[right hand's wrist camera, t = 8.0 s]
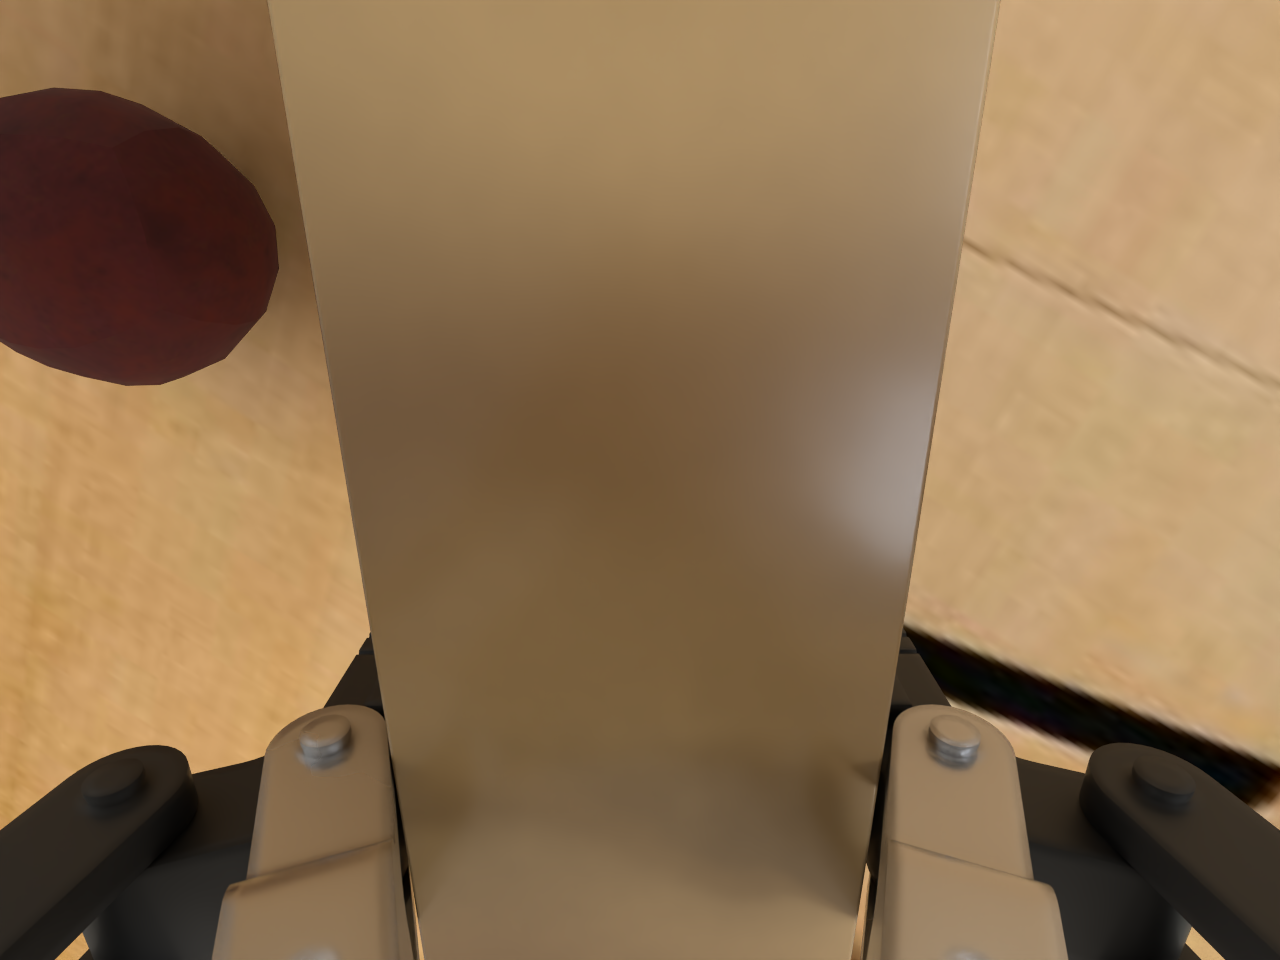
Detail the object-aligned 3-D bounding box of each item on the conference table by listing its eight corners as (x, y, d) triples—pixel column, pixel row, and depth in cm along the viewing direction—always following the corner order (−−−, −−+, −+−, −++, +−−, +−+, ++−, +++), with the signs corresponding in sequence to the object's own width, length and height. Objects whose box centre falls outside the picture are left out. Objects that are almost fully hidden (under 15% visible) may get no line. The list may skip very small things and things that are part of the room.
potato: (22, 125, 21) (-258, 92, 14) (279, 90, 21) (112, 40, 14) (118, 370, 24) (-80, 436, 17) (346, 342, 23) (233, 399, 17)
